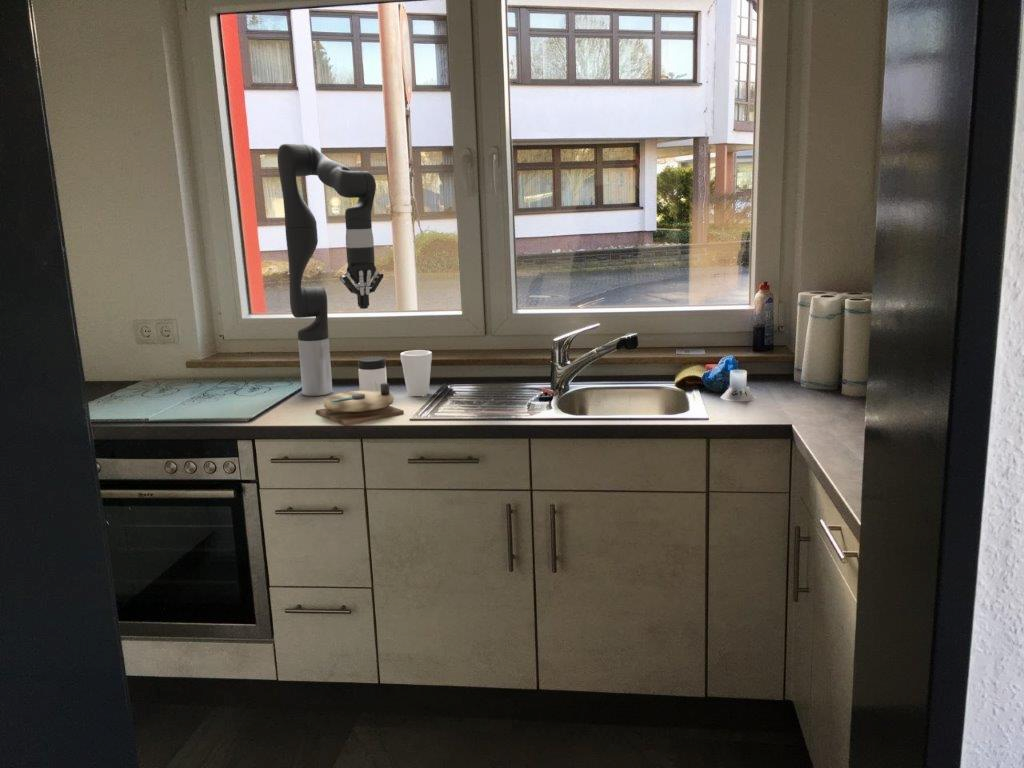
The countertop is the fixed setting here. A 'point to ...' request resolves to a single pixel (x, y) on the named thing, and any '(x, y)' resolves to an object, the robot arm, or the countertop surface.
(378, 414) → the mount
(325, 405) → the handwheel
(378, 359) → the jar
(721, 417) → the countertop surface
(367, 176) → the robot arm
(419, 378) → the foam cup
